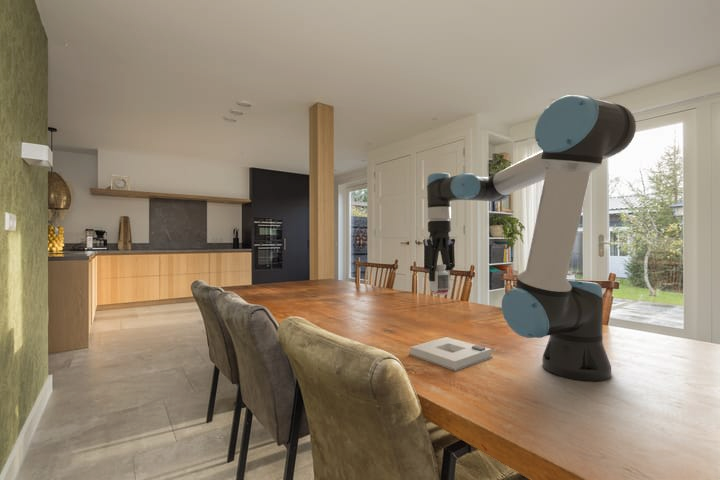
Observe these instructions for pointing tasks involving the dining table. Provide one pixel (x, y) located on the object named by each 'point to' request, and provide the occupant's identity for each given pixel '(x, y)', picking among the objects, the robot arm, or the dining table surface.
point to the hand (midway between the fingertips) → (440, 290)
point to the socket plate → (451, 353)
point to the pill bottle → (442, 280)
